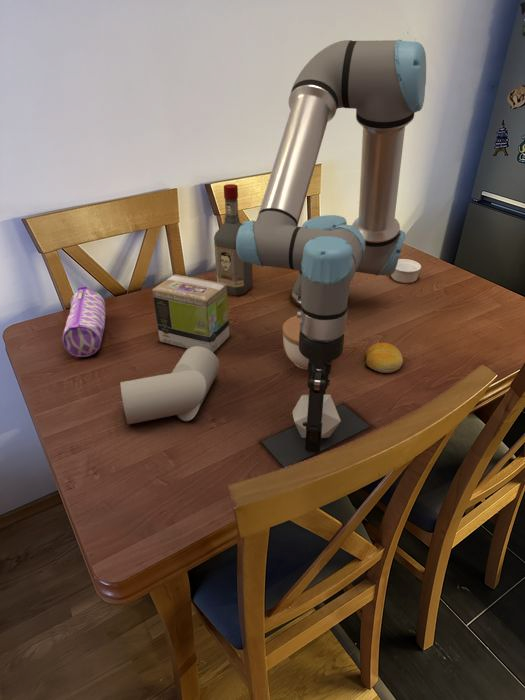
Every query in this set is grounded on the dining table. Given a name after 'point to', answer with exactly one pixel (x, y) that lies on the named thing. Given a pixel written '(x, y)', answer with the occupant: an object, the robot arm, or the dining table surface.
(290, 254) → the robot arm
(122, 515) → the dining table surface
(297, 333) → the cork-lidded white jar
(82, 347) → the pencil case
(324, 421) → the die
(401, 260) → the ramekin
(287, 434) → the edge mat
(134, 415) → the bent grey cylinder
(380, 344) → the bread roll
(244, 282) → the liquor
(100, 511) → the dining table surface
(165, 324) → the tea box
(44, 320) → the dining table surface
